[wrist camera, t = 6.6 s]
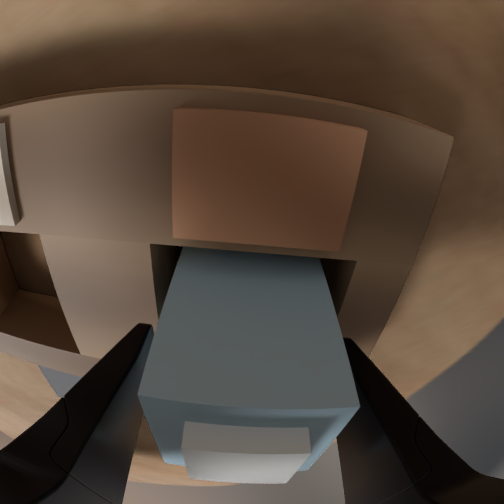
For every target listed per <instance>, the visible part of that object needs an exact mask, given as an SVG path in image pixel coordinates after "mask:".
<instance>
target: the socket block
mask: <svg viewBox="0 0 504 504" xmlns="http://www.w3.org/2000/svg"><path fill="white" fill-rule="evenodd" d="M453 140H454V137H453V136H451V135H448V134H446V133H444V132H442V131H439V130H437V129H435V128H432V127H430V126H428V125H425V124H423V123H420V122H418V121H415V120H413V119H410V118H407V117H405V116H401V115H398V114H394V113H391V112H387V111H383V110H379V109H375V108H371V107H367V106H362V105H358V104H353V103H349V102H344V101H339V100H334V99H329V98H323V97H318V96H312V95H305V94H299V93H292V92H284V91H277V90H268V89H258V88H248V87H235V86H219V85H188V84H165V85H135V86H119V87H107V88H96V89H87V90H79V91H72V92H65V93H58V94H52V95H46V96H41V97H36V98H31V99H26V100H21V101H17V102H12V103H8V104H4V105H0V231H6V232H18V233H30V234H40V238H41V242H42V246H43V250H44V253H45V257H46V261H47V264H48V267H49V271H50V274H51V277H52V280H53V283H54V286H55V289H56V292H57V295H58V297H54V296H49V295H43V294H38V293H33V292H28V291H23V290H19V288H18V285H17V283H16V280H15V277H14V275H13V272H12V269H11V266H10V263H9V260H8V257H7V254H6V251H5V248H4V245H3V242H2V238H1V235H0V352H2V353H5V354H8V355H10V356H13V357H16V358H19V359H22V360H25V361H28V362H31V363H34V364H37V365H40V366H44V367H47V368H50V369H54V370H57V371H61V372H64V373H68V374H72V375H76V376H79V377H83V376H84V375H85V374H86V373H87V372H88V371H89V370H90V369H91V368H92V367H93V366H94V365H95V364H96V363H97V362H98V361H99V360H100V359H101V358H102V357H104V356H105V355H106V354H107V353H108V352H109V351H110V350H111V349H112V348H113V347H114V346H115V345H116V344H117V343H118V342H119V341H120V340H121V339H122V338H123V337H124V336H125V335H126V334H127V333H128V332H129V331H130V330H131V329H132V328H133V327H135V326H136V325H137V324H138V323H146V324H151V325H152V326H153V330H154V334H155V331H156V327H157V324H158V321H159V318H160V314H161V311H162V308H163V305H164V302H165V299H166V296H167V292H168V289H169V286H170V283H171V280H172V277H173V274H174V271H175V268H176V266H177V263H176V246H185V247H197V248H209V249H221V250H233V251H245V252H257V253H269V254H281V255H293V256H305V257H317V258H321V265H322V268H323V272H324V275H325V278H326V281H327V285H328V288H329V291H330V295H331V298H332V301H333V305H334V308H335V312H336V315H337V319H338V322H339V326H340V329H341V333H342V337H349V338H351V339H352V340H353V341H354V342H355V343H356V344H357V345H358V346H359V348H360V349H361V350H362V351H363V352H364V353H365V354H366V355H367V357H369V355H370V353H371V351H372V349H373V347H374V346H375V344H376V342H377V340H378V338H379V336H380V334H381V332H382V330H383V328H384V326H385V324H386V322H387V320H388V318H389V316H390V314H391V312H392V310H393V308H394V306H395V304H396V302H397V300H398V297H399V295H400V293H401V291H402V289H403V286H404V284H405V282H406V280H407V277H408V275H409V273H410V270H411V268H412V266H413V263H414V261H415V258H416V256H417V253H418V251H419V248H420V246H421V243H422V240H423V238H424V235H425V232H426V230H427V227H428V224H429V221H430V218H431V216H432V213H433V210H434V207H435V204H436V201H437V197H438V194H439V191H440V188H441V185H442V181H443V178H444V174H445V171H446V167H447V164H448V160H449V156H450V152H451V148H452V144H453Z"/></svg>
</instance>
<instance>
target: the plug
mask: <svg viewBox="0 0 504 504" xmlns="http://www.w3.org/2000/svg"><path fill="white" fill-rule="evenodd" d="M137 395H138V398H139V401H140V403H141V406H142V409H143V412H144V414H145V417H146V420H147V422H148V425H149V427H150V430H151V432H152V435H153V437H154V439H155V442H156V444H157V447H158V449H159V451H160V454H161V456H162V458H163V460H164V462H165V463H169V464H176V465H183V466H186V468H187V472H188V476H189V479H197V480H207V481H218V482H233V483H287V481H288V480H289V479H290V478H291V477H292V476H293V475H294V473H295V472H296V471H304V470H308V469H309V468H310V467H311V465H312V464H313V463H314V462H315V461H316V460H317V459H318V458H319V456H320V455H321V454H322V453H323V452H324V451H325V450H326V448H327V447H328V446H329V445H330V444H331V443H332V442H333V440H334V439H335V438H336V437H337V436H338V434H339V433H340V432H341V431H342V429H343V428H344V427H345V426H346V424H347V423H348V422H349V421H350V419H351V418H352V417H353V415H354V414H355V413H356V412H357V410H358V409H359V408H360V403H359V399H358V395H357V391H356V387H355V383H354V379H353V375H352V371H351V367H350V363H349V359H348V355H347V352H346V348H345V344H344V340H343V337H342V333H341V329H340V326H339V322H338V319H337V315H336V312H335V308H334V305H333V301H332V298H331V295H330V291H329V288H328V285H327V281H326V278H325V275H324V272H323V268H322V265H321V262H320V259H319V258H317V257H305V256H293V255H281V254H269V253H257V252H245V251H233V250H221V249H209V248H197V247H185V246H183V248H182V251H181V254H180V257H179V260H178V263H177V266H176V268H175V271H174V274H173V277H172V280H171V283H170V286H169V289H168V292H167V296H166V299H165V302H164V305H163V308H162V311H161V314H160V318H159V321H158V324H157V327H156V331H155V334H154V337H153V341H152V344H151V347H150V351H149V354H148V358H147V361H146V365H145V368H144V372H143V375H142V379H141V383H140V387H139V390H138V394H137Z"/></svg>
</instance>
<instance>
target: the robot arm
mask: <svg viewBox="0 0 504 504" xmlns="http://www.w3.org/2000/svg"><path fill="white" fill-rule="evenodd" d="M153 337H154V330H153V326H152V325H151V324H146V323H138V324H137V325H136V326H135V327H133V328H132V329H131V330H130V331H129V332H128V333H127V334H126V335H125V336H124V337H123V338H122V339H121V340H120V341H119V342H118V343H117V344H116V345H115V346H114V347H113V348H112V349H111V350H110V351H109V352H108V353H107V354H106V355H105V356H104V357H102V358H101V359H100V360H99V361H98V362H97V363H96V364H95V365H94V366H93V367H92V368H91V369H90V370H89V371H88V372H87V373H86V374H85V375H84V376H83V377H82V378H81V379H80V380H79V381H78V382H77V383H76V384H75V385H74V386H73V387H72V388H71V389H70V390H69V391H68V392H67V393H66V394H65V395H64V397H62V398H61V399H60V400H59V401H58V402H57V403H56V404H55V405H54V406H53V407H52V408H51V409H50V410H49V411H48V412H47V413H46V414H45V415H44V416H42V417H41V418H40V419H39V420H38V421H37V422H35V423H34V424H33V425H32V426H31V427H29V428H28V429H27V430H26V431H24V432H23V433H22V434H21V435H19V436H18V437H17V438H16V439H14V440H13V441H12V442H11V443H10V444H8V445H7V446H6V447H4V448H3V449H1V450H0V504H122V502H123V497H124V493H125V487H126V483H127V479H128V474H129V470H130V466H131V461H132V457H133V453H134V449H135V445H136V441H137V437H138V433H139V429H140V425H141V421H142V417H143V413H144V412H143V409H142V406H141V403H140V401H139V398H138V395H137V394H138V390H139V387H140V383H141V379H142V375H143V372H144V368H145V365H146V361H147V358H148V354H149V351H150V347H151V344H152V341H153ZM343 340H344V344H345V348H346V352H347V355H348V359H349V363H350V367H351V371H352V375H353V379H354V383H355V387H356V391H357V395H358V399H359V403H360V408H359V409H358V410H357V412H356V413H355V414H354V415H353V417H352V418H351V419H350V421H349V422H348V423H347V424H346V426H345V427H344V428H343V429H342V431H341V432H340V433H339V434H338V436H337V437H336V438H337V444H338V451H339V458H340V465H341V472H342V480H343V487H344V495H345V504H504V479H499V478H495V477H491V476H486V475H483V474H481V473H479V472H477V471H475V470H474V469H472V468H471V467H470V466H469V465H468V464H467V463H466V462H465V461H464V460H463V459H461V458H460V457H459V456H458V455H457V454H456V453H455V452H454V451H453V450H452V449H451V448H450V447H448V446H447V445H446V444H445V443H444V442H443V441H442V440H441V439H440V438H439V437H438V436H437V435H436V434H435V432H434V431H433V430H432V429H431V428H430V427H429V426H428V425H427V424H426V422H425V421H424V420H423V419H422V418H421V417H419V415H418V413H417V412H416V411H415V410H414V409H413V408H412V406H411V405H410V404H409V403H408V402H407V401H406V400H405V398H404V397H403V396H402V395H401V394H400V393H399V392H398V390H397V389H396V388H395V387H394V386H393V385H392V384H391V383H390V381H389V380H388V379H387V378H386V377H385V376H384V375H383V373H382V372H381V371H380V370H379V369H378V368H377V367H376V366H375V364H374V363H373V362H372V361H371V360H370V359H369V358H368V357H367V355H366V354H365V353H364V352H363V351H362V350H361V349H360V348H359V346H358V345H357V344H356V343H355V342H354V341H353V340H352V339H351V338H349V337H343Z"/></svg>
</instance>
